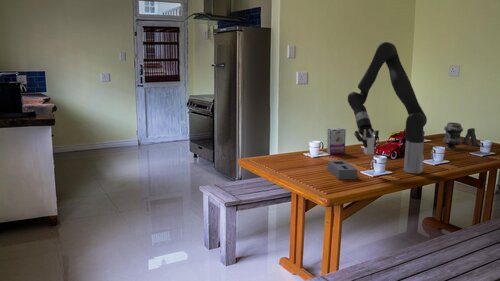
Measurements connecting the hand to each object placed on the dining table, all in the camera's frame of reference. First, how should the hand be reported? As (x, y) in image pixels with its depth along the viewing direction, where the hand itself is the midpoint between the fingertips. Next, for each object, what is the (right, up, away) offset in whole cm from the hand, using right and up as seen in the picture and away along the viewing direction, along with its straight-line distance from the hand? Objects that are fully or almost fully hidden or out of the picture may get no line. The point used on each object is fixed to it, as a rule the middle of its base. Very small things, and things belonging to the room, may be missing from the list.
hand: (370, 146), depth 227 cm
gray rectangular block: (0, -4, +3) cm, 5 cm away
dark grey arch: (+96, 0, +80) cm, 125 cm away
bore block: (-15, -15, +3) cm, 21 cm away
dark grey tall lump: (+76, -3, +67) cm, 101 cm away
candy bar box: (-8, -5, +53) cm, 54 cm away
